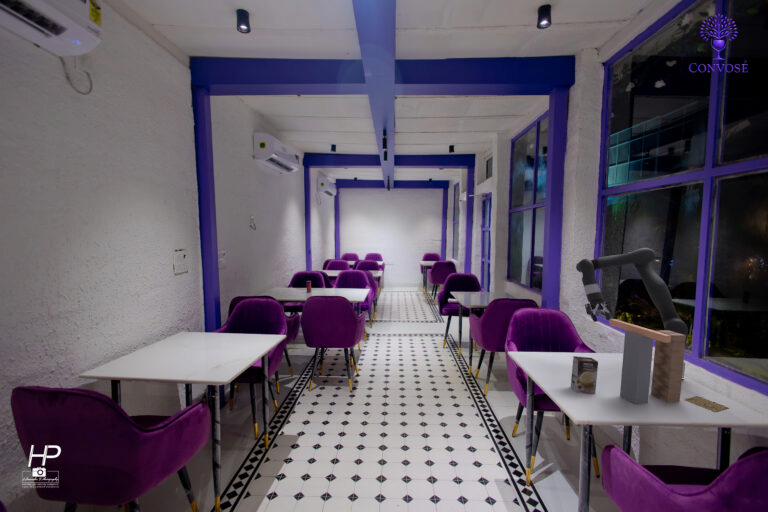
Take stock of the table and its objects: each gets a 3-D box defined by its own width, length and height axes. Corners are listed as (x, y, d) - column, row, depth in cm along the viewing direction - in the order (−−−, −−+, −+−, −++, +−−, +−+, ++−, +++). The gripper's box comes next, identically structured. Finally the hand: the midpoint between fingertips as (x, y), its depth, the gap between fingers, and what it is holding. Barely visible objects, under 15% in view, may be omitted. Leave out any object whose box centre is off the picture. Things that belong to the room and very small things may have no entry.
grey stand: (619, 395, 159) (625, 331, 157) (632, 395, 160) (637, 330, 158) (635, 404, 151) (641, 336, 149) (647, 403, 152) (653, 335, 150)
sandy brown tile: (682, 400, 157) (682, 398, 157) (697, 396, 162) (697, 395, 162) (715, 413, 146) (715, 411, 146) (729, 409, 151) (730, 407, 150)
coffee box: (576, 392, 161) (578, 360, 160) (570, 386, 167) (572, 355, 166) (596, 394, 160) (598, 362, 159) (589, 388, 166) (591, 357, 165)
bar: (609, 324, 168) (609, 319, 168) (614, 324, 169) (614, 319, 168) (664, 342, 141) (665, 335, 140) (670, 342, 141) (671, 335, 141)
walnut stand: (650, 394, 162) (656, 330, 160) (662, 393, 163) (668, 330, 161) (667, 402, 154) (673, 335, 152) (679, 401, 155) (685, 335, 154)
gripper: (598, 293, 194) (608, 320, 189) (577, 295, 192) (586, 323, 187) (608, 290, 187) (618, 318, 182) (587, 292, 185) (596, 321, 180)
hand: (602, 320), depth 184 cm, fingers open, 8 cm apart
